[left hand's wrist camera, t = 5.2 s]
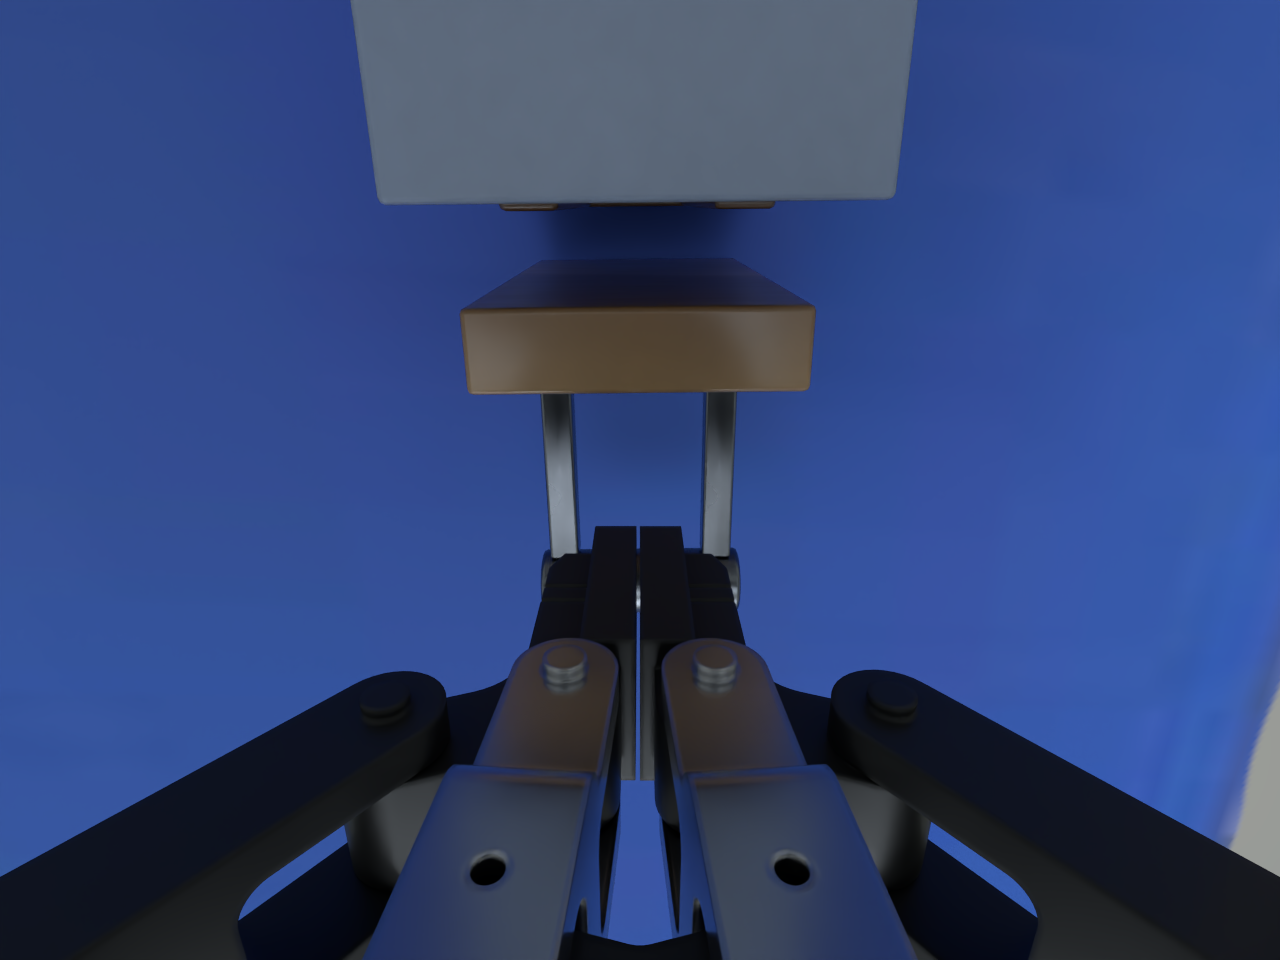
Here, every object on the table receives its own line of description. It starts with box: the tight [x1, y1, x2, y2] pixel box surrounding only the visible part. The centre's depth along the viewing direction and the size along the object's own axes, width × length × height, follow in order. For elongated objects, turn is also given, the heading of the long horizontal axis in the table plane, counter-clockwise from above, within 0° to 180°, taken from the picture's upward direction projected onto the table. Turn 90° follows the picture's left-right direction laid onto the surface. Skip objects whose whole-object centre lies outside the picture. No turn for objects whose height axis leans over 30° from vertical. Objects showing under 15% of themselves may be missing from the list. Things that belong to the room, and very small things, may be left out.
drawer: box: [460, 201, 816, 612], centre depth 12 cm, size 22×5×8 cm, turn 1°
